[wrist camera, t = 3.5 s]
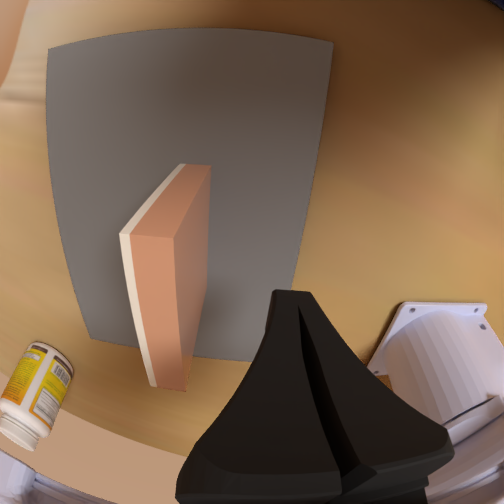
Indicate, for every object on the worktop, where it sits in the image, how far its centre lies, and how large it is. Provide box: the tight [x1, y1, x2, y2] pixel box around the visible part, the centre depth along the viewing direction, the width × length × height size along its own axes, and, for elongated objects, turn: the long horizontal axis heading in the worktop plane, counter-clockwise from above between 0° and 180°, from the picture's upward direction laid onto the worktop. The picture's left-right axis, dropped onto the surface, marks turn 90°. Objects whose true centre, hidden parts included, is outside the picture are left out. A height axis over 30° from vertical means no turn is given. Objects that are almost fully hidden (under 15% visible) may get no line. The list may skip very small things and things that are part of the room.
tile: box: [119, 164, 212, 392], centre depth 12 cm, size 2×7×7 cm, turn 174°
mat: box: [46, 28, 334, 362], centre depth 15 cm, size 14×20×1 cm
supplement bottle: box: [0, 342, 73, 451], centre depth 19 cm, size 6×6×10 cm
